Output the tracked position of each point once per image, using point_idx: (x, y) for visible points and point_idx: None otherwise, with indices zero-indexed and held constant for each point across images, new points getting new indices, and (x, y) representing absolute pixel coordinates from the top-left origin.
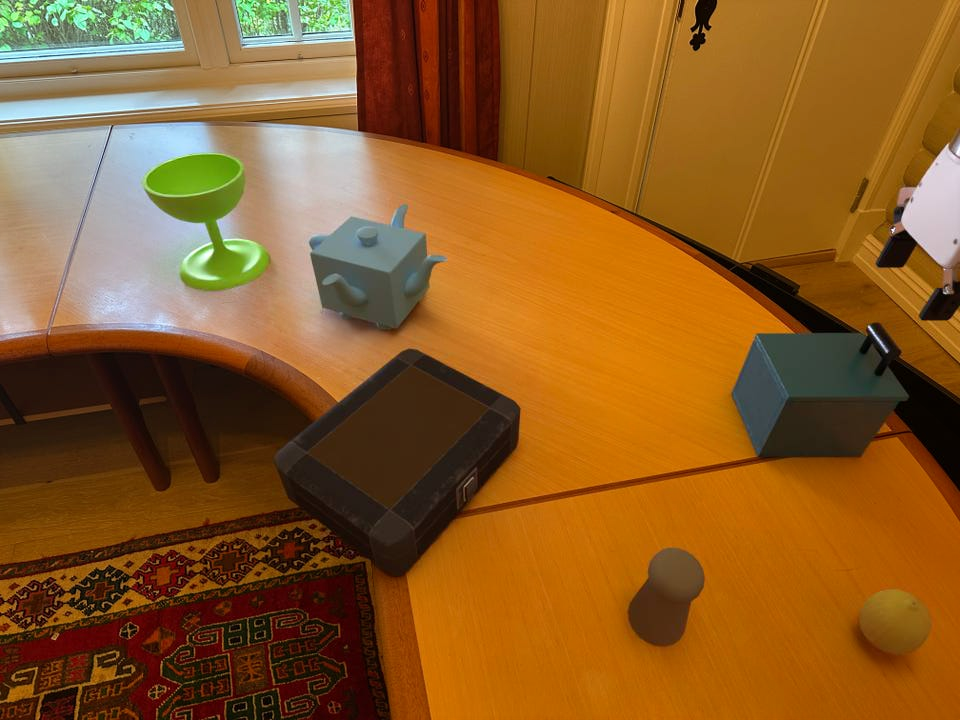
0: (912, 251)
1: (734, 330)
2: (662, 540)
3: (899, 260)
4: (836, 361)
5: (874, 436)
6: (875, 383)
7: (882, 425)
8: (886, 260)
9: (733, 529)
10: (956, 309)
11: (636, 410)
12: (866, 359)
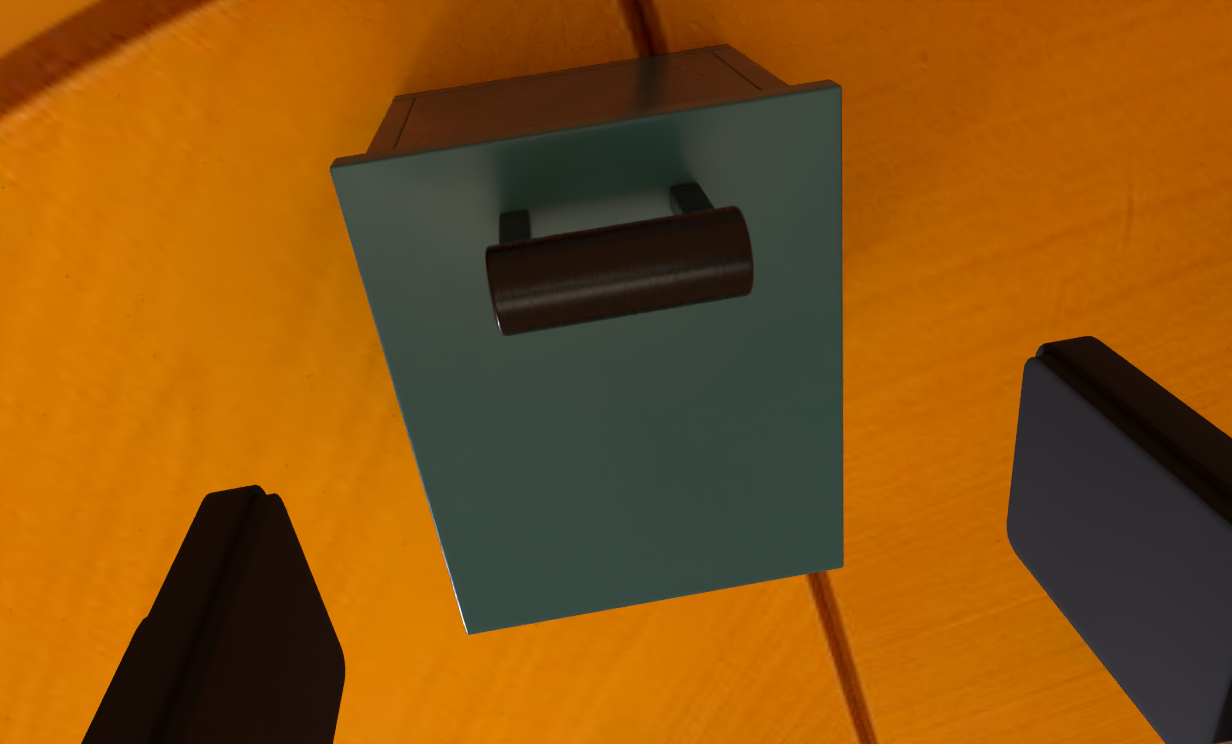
0: (225, 633)
1: (81, 384)
2: (998, 598)
3: (281, 606)
4: (612, 365)
5: (759, 66)
6: (753, 227)
7: (779, 79)
8: (321, 701)
9: (983, 463)
10: (1162, 393)
11: (600, 658)
12: (573, 220)
